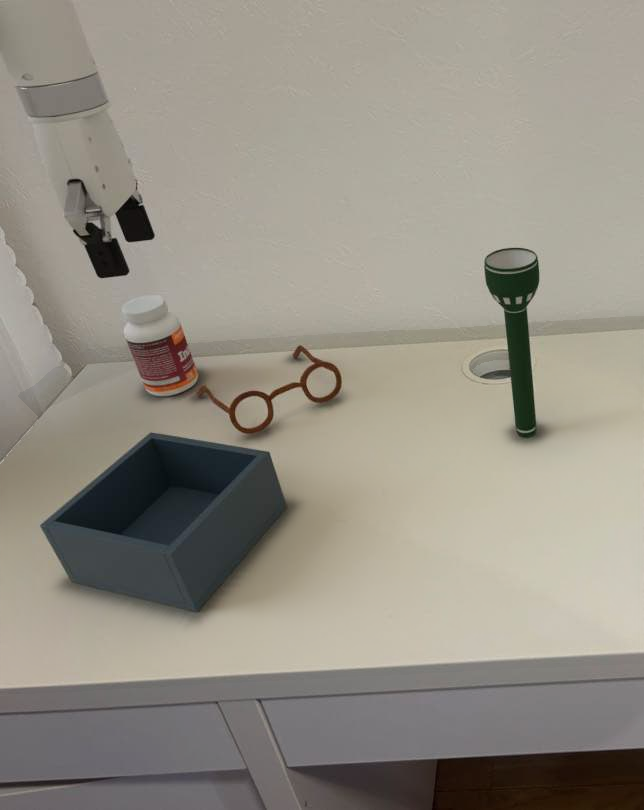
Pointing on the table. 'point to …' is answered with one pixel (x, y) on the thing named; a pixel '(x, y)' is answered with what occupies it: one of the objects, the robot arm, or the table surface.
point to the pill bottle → (158, 346)
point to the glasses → (277, 392)
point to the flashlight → (516, 323)
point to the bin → (167, 519)
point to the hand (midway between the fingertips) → (128, 257)
